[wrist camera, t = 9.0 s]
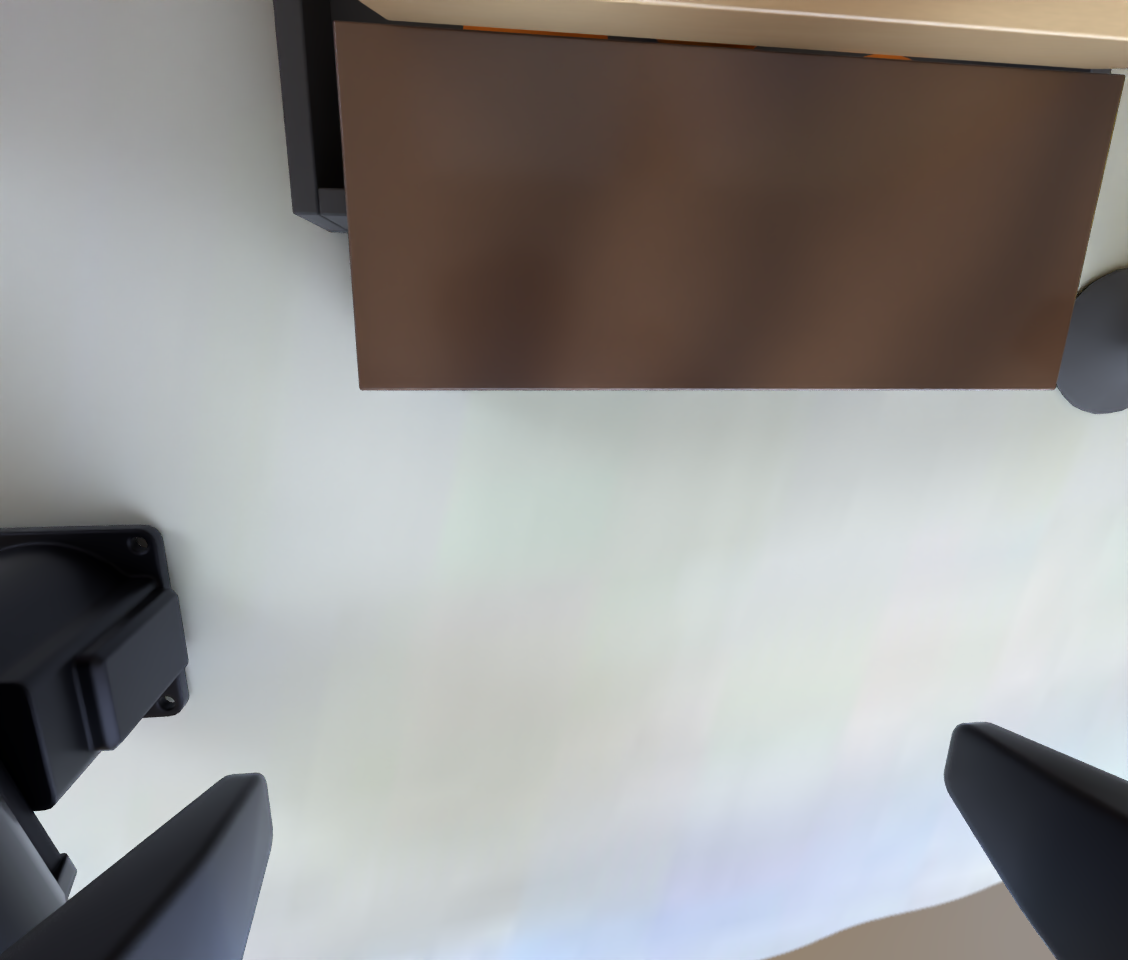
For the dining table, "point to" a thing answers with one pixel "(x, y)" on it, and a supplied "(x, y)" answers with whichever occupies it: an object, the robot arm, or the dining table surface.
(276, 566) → the dining table surface
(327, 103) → the dark grey tray
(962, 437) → the dining table surface
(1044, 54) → the wooden box
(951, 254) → the stand
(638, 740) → the dining table surface
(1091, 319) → the sundae
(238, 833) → the robot arm
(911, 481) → the dining table surface
